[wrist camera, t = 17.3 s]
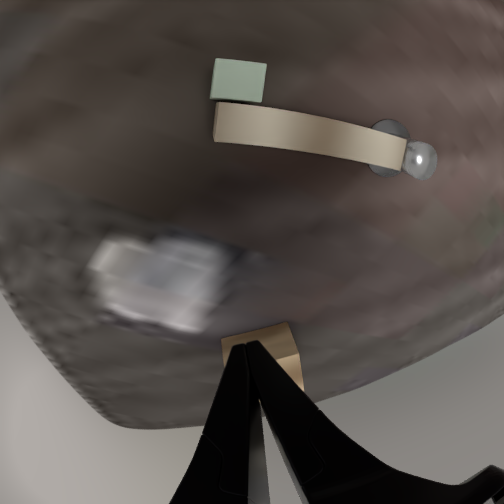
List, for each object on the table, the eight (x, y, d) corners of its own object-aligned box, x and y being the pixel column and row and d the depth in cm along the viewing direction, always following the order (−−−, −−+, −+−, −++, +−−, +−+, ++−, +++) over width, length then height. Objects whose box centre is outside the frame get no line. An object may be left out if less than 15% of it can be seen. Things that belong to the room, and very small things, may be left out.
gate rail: (377, 131, 18) (407, 139, 15) (371, 158, 19) (400, 170, 16) (216, 102, 16) (219, 101, 12) (212, 134, 16) (214, 141, 13)
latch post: (213, 68, 15) (215, 58, 11) (253, 72, 15) (266, 64, 12) (209, 99, 16) (211, 97, 12) (249, 102, 16) (261, 102, 13)
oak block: (220, 337, 25) (224, 372, 22) (286, 320, 25) (298, 353, 22) (236, 374, 28) (241, 406, 25) (293, 360, 28) (304, 390, 25)
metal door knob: (369, 112, 17) (405, 119, 14) (415, 127, 18) (452, 138, 14) (358, 171, 19) (390, 189, 16) (403, 180, 20) (437, 199, 17)
